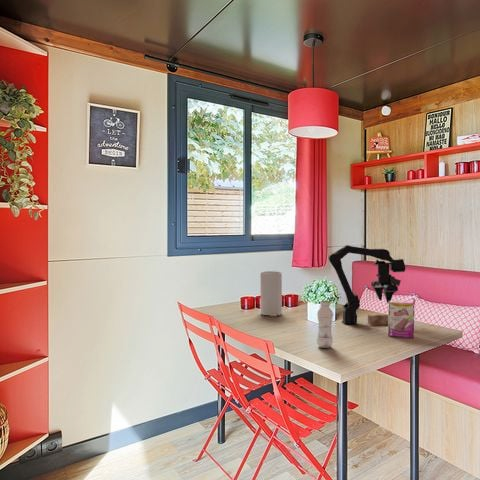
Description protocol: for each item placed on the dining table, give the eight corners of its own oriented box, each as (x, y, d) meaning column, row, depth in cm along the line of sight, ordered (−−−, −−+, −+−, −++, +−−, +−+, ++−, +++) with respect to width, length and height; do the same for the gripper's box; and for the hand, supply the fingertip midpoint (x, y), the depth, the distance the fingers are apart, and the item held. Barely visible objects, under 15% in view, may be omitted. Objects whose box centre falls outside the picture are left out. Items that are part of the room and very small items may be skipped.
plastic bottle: (315, 345, 164) (315, 300, 164) (330, 344, 165) (330, 299, 164) (319, 350, 158) (319, 303, 157) (335, 349, 159) (335, 302, 158)
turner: (371, 326, 195) (371, 316, 195) (366, 323, 201) (366, 314, 201) (402, 324, 197) (402, 315, 197) (395, 322, 203) (395, 312, 203)
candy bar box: (388, 336, 176) (388, 302, 175) (387, 333, 181) (388, 300, 180) (414, 339, 172) (414, 303, 172) (413, 335, 177) (413, 301, 177)
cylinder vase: (282, 316, 216) (282, 273, 215) (261, 316, 216) (260, 273, 215) (280, 311, 229) (280, 271, 228) (260, 311, 229) (260, 271, 228)
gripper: (407, 273, 189) (408, 304, 189) (389, 269, 207) (390, 297, 208) (386, 275, 188) (387, 305, 188) (370, 270, 206) (371, 299, 207)
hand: (384, 302), depth 198 cm, fingers open, 9 cm apart
